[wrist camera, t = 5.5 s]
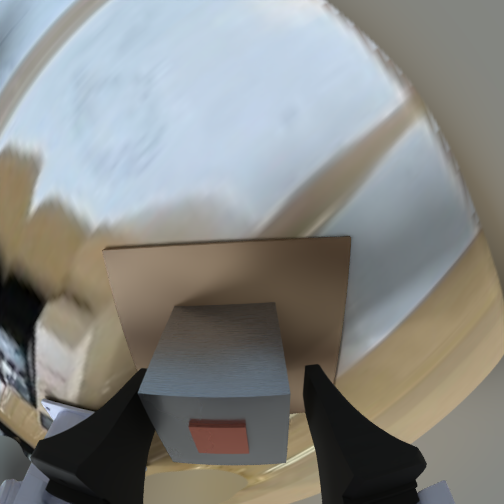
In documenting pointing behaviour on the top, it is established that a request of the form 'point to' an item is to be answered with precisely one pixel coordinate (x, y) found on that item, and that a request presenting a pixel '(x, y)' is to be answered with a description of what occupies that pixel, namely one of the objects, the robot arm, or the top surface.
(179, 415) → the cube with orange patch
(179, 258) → the board
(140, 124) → the top surface
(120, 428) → the robot arm
